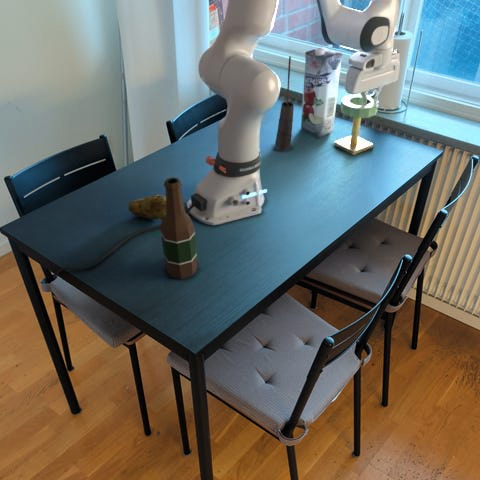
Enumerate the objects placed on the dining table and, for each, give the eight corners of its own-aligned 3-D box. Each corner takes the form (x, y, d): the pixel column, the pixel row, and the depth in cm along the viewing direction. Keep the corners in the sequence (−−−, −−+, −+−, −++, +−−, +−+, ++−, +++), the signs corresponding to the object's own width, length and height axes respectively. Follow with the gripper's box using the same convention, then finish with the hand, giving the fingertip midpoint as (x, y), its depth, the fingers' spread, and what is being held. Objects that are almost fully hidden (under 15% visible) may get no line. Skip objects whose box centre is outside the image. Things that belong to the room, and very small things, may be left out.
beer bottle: (198, 259, 131) (191, 171, 114) (197, 279, 125) (190, 189, 109) (167, 260, 131) (155, 172, 114) (164, 280, 125) (152, 190, 109)
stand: (353, 155, 170) (358, 117, 162) (333, 144, 176) (338, 108, 167) (372, 147, 174) (379, 110, 165) (353, 137, 179) (358, 101, 171)
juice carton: (314, 122, 188) (322, 40, 170) (336, 132, 182) (346, 48, 164) (296, 129, 184) (302, 46, 166) (318, 139, 178) (326, 54, 160)
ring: (358, 121, 161) (359, 111, 159) (333, 109, 168) (334, 99, 166) (384, 112, 166) (385, 102, 163) (358, 100, 172) (360, 91, 170)
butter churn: (294, 157, 169) (300, 66, 150) (265, 153, 171) (268, 62, 152) (300, 145, 176) (307, 55, 156) (273, 141, 178) (276, 52, 158)
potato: (151, 204, 150) (147, 179, 144) (179, 222, 143) (176, 196, 137) (126, 215, 146) (121, 189, 140) (154, 235, 139) (150, 208, 133)
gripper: (392, 46, 164) (384, 91, 173) (344, 59, 155) (339, 106, 165) (408, 51, 160) (399, 97, 170) (359, 65, 152) (353, 113, 161)
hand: (369, 101), depth 167 cm, fingers closed on ring, 2 cm apart
